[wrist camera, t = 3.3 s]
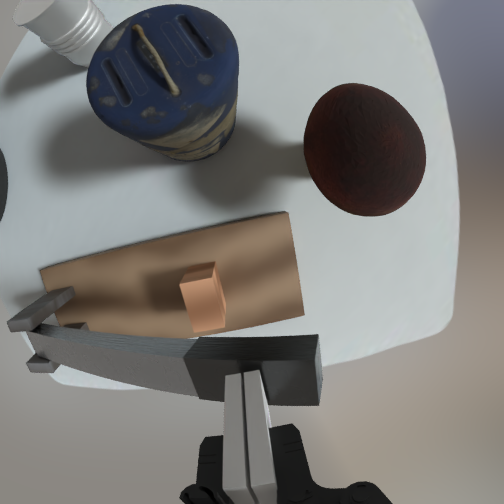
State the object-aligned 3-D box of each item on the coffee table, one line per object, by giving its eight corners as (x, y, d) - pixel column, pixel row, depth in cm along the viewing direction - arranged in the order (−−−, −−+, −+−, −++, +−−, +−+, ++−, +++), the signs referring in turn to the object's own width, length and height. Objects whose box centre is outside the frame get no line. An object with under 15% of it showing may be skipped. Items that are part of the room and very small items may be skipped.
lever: (34, 319, 23) (21, 327, 21) (318, 330, 14) (314, 356, 12) (47, 347, 24) (34, 356, 22) (322, 381, 15) (319, 407, 13)
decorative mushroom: (276, 201, 31) (314, 214, 16) (283, 107, 28) (323, 49, 14) (365, 211, 32) (447, 231, 17) (370, 124, 29) (451, 94, 15)
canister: (163, 174, 29) (81, 161, 12) (144, 99, 27) (67, 29, 10) (246, 148, 29) (263, 98, 12) (224, 74, 27) (217, -27, 10)
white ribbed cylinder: (88, 28, 23) (36, -22, 9) (128, 28, 24) (83, -35, 10) (67, 70, 25) (1, 30, 10) (106, 71, 26) (44, 20, 11)
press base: (47, 266, 30) (-8, 296, 19) (284, 211, 31) (315, 225, 19) (77, 344, 33) (37, 392, 22) (300, 308, 34) (330, 363, 22)
